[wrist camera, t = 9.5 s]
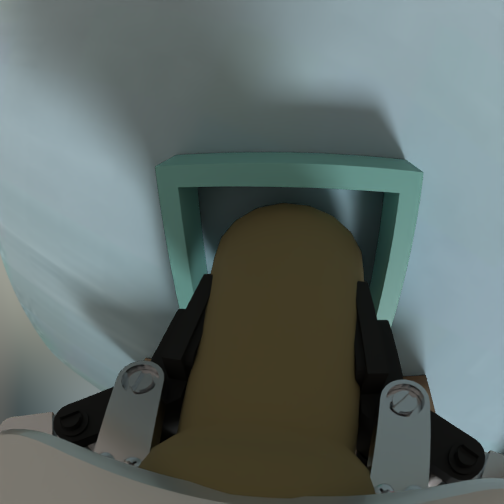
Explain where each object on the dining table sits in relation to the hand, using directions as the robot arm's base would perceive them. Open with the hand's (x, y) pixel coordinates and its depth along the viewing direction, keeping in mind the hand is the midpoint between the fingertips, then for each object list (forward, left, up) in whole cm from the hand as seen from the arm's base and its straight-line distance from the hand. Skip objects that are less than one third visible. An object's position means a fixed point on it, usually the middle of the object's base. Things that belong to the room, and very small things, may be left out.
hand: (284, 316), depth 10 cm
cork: (0, 0, -2) cm, 2 cm away
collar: (0, 0, -4) cm, 4 cm away
